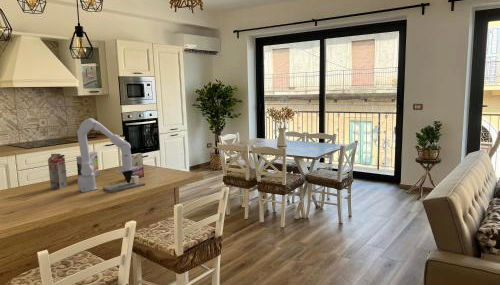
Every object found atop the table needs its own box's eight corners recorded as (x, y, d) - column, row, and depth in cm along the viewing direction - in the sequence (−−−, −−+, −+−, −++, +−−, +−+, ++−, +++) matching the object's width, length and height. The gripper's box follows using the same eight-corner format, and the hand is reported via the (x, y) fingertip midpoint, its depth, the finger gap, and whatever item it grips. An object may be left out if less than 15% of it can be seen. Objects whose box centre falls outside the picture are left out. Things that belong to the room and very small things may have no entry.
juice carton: (60, 189, 224) (56, 154, 221) (50, 188, 225) (47, 154, 222) (67, 186, 231) (64, 152, 227) (58, 186, 232) (55, 152, 229)
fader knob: (134, 183, 228) (134, 177, 227) (131, 182, 231) (131, 176, 230) (139, 182, 230) (138, 176, 230) (136, 181, 233) (135, 175, 233)
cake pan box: (83, 182, 240) (81, 156, 237) (76, 182, 241) (74, 156, 238) (99, 175, 259) (97, 151, 256) (93, 175, 260) (91, 151, 257)
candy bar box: (139, 175, 256) (138, 152, 253) (144, 176, 253) (142, 153, 250) (126, 178, 247) (124, 155, 245) (130, 179, 244) (128, 156, 242)
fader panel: (111, 192, 214) (111, 190, 213) (103, 189, 222) (103, 187, 222) (145, 185, 229) (144, 183, 229) (135, 182, 237) (135, 180, 237)
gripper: (118, 164, 217) (120, 186, 219) (140, 160, 227) (141, 181, 230) (113, 162, 222) (115, 184, 224) (135, 159, 232) (136, 179, 234)
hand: (128, 182), depth 227 cm, fingers closed
